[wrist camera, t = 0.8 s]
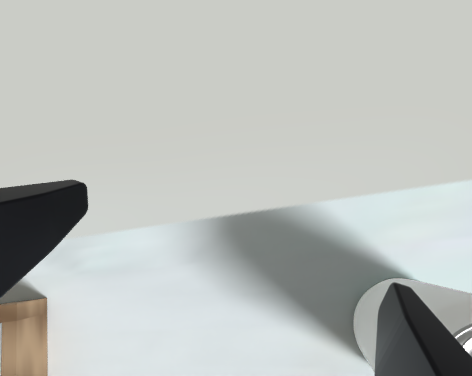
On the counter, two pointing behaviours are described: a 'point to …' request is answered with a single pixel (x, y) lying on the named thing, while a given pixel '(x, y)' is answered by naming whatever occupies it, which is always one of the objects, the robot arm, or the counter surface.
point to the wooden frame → (24, 338)
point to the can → (435, 297)
